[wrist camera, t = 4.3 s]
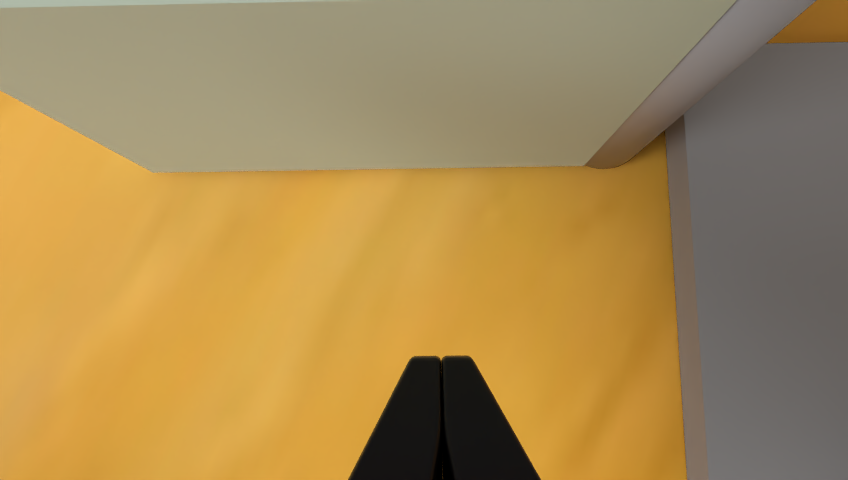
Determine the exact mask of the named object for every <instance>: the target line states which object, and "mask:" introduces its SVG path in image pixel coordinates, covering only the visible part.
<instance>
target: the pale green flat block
mask: <svg viewBox="0 0 848 480" xmlns="http://www.w3.org/2000/svg"><path fill="white" fill-rule="evenodd" d="M815 1H816V0H0V91H2V92H4V93H6V94H8V95H10V96H12V97H13V98H15V99H17V100H19V101H21V102H23V103H25V104H26V105H28V106H30V107H32V108H34V109H36V110H38V111H39V112H41V113H43V114H45V115H47V116H49V117H51V118H53V119H54V120H56V121H58V122H60V123H62V124H64V125H66V126H67V127H69V128H71V129H73V130H75V131H77V132H79V133H80V134H82V135H84V136H86V137H88V138H90V139H92V140H93V141H95V142H97V143H99V144H101V145H103V146H105V147H106V148H108V149H110V150H112V151H114V152H116V153H118V154H119V155H121V156H123V157H125V158H127V159H129V160H131V161H133V162H134V163H136V164H138V165H140V166H142V167H144V168H146V169H147V170H149V171H151V172H153V173H158V172H222V171H287V170H351V169H416V168H480V167H545V166H584V165H586V166H589V167H592V168H598V169H608V168H614V167H617V166H620V165H622V164H624V163H626V162H627V161H629V160H630V159H631V158H633V157H634V156H635V155H636V154H637V153H638V152H640V151H641V150H642V149H643V148H644V147H645V146H647V145H648V144H649V143H650V142H651V141H652V140H654V139H655V138H656V137H657V136H658V135H659V134H661V133H662V132H663V131H664V130H665V129H667V128H668V127H669V126H670V125H671V124H672V123H674V122H675V121H676V120H677V119H678V118H679V117H681V116H682V115H683V114H684V113H685V112H686V111H688V110H689V109H690V108H691V107H692V106H693V105H695V104H696V103H697V102H698V101H699V100H700V99H702V98H703V97H704V96H705V95H706V94H707V93H709V92H710V91H711V90H712V89H713V88H714V87H716V86H717V85H718V84H719V83H720V82H721V81H723V80H724V79H725V78H726V77H727V76H729V75H730V74H731V73H732V72H733V71H734V70H736V69H737V68H738V67H739V66H740V65H741V64H743V63H744V62H745V61H746V60H747V59H748V58H750V57H751V56H752V55H753V54H754V53H755V52H757V51H758V50H759V49H760V48H761V47H762V46H764V45H765V44H766V43H767V42H768V41H769V40H771V39H772V38H773V37H774V36H775V35H776V34H778V33H779V32H780V31H781V30H782V29H783V28H785V27H786V26H787V25H788V24H789V23H791V22H792V21H793V20H794V19H795V18H796V17H798V16H799V15H800V14H801V13H802V12H803V11H805V10H806V9H807V8H808V7H809V6H810V5H812V4H813V3H814V2H815Z"/></svg>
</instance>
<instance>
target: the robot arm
mask: <svg viewBox="0 0 848 480" xmlns="http://www.w3.org/2000/svg"><path fill="white" fill-rule="evenodd" d="M348 480H541V479H540V477H539V476H538V474H537V472H536V470H535V468H534V467H533V465H532V463H531V461H530V460H529V458H528V456H527V454H526V453H525V451H524V449H523V447H522V445H521V444H520V442H519V440H518V438H517V437H516V435H515V433H514V431H513V429H512V428H511V426H510V424H509V422H508V421H507V419H506V417H505V415H504V414H503V412H502V410H501V408H500V406H499V405H498V403H497V401H496V399H495V398H494V396H493V394H492V392H491V390H490V389H489V387H488V385H487V383H486V382H485V380H484V378H483V376H482V375H481V373H480V371H479V369H478V367H477V366H476V364H475V362H474V361H473V359H472V358H471V357H469V356H445V357H443V358H442V360H440V358H439V357H437V356H414V357H412V358H411V359H410V360H409V362H408V364H407V366H406V368H405V369H404V371H403V373H402V375H401V377H400V379H399V381H398V383H397V385H396V387H395V389H394V391H393V393H392V395H391V397H390V399H389V401H388V403H387V405H386V407H385V409H384V410H383V412H382V414H381V416H380V418H379V420H378V422H377V424H376V426H375V428H374V430H373V432H372V434H371V436H370V438H369V440H368V442H367V444H366V446H365V448H364V450H363V452H362V453H361V455H360V457H359V459H358V461H357V463H356V465H355V467H354V469H353V471H352V473H351V475H350V477H349V479H348Z"/></svg>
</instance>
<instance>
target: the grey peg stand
mask: <svg viewBox="0 0 848 480" xmlns="http://www.w3.org/2000/svg"><path fill="white" fill-rule="evenodd" d="M665 137H666V153H667V168H668V184H669V200H670V216H671V231H672V247H673V263H674V279H675V295H676V310H677V326H678V342H679V358H680V373H681V389H682V405H683V421H684V436H685V452H686V468H687V480H848V42H824V43H771V44H765V45H764V46H762V47H761V48H760V49H759V50H758V51H757V52H755V53H754V54H753V55H752V56H751V57H750V58H748V59H747V60H746V61H745V62H744V63H743V64H741V65H740V66H739V67H738V68H737V69H736V70H734V71H733V72H732V73H731V74H730V75H729V76H727V77H726V78H725V79H724V80H723V81H721V82H720V83H719V84H718V85H717V86H716V87H714V88H713V89H712V90H711V91H710V92H709V93H707V94H706V95H705V96H704V97H703V98H702V99H700V100H699V101H698V102H697V103H696V104H695V105H693V106H692V107H691V108H690V109H689V110H688V111H686V112H685V113H684V114H683V115H682V116H681V117H679V118H678V119H677V120H676V121H675V122H674V123H672V124H671V125H670V126H669V127H668V128H667V129H665Z"/></svg>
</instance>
